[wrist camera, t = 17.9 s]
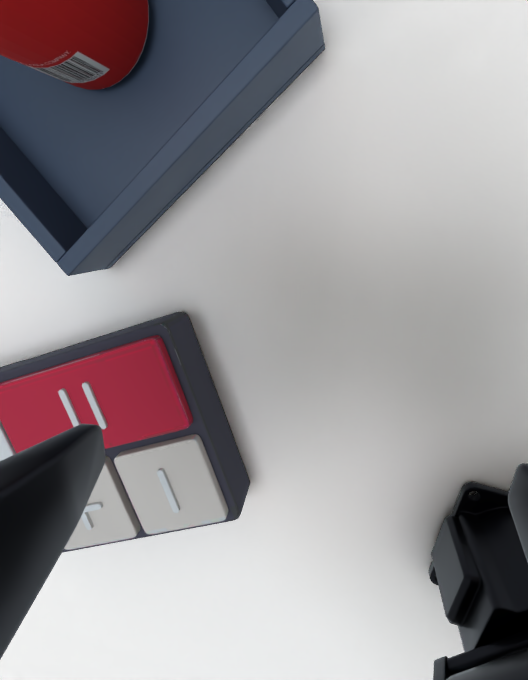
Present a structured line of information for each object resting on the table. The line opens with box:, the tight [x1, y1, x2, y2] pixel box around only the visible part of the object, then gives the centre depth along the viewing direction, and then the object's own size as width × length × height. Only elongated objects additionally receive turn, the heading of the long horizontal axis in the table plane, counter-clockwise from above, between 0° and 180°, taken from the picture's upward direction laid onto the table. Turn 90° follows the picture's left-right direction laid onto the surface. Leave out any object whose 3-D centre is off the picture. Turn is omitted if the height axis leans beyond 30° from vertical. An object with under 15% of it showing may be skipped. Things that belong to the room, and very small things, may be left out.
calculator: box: [0, 312, 250, 552], centre depth 23 cm, size 11×4×15 cm
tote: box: [0, 0, 325, 276], centre depth 18 cm, size 15×15×4 cm
